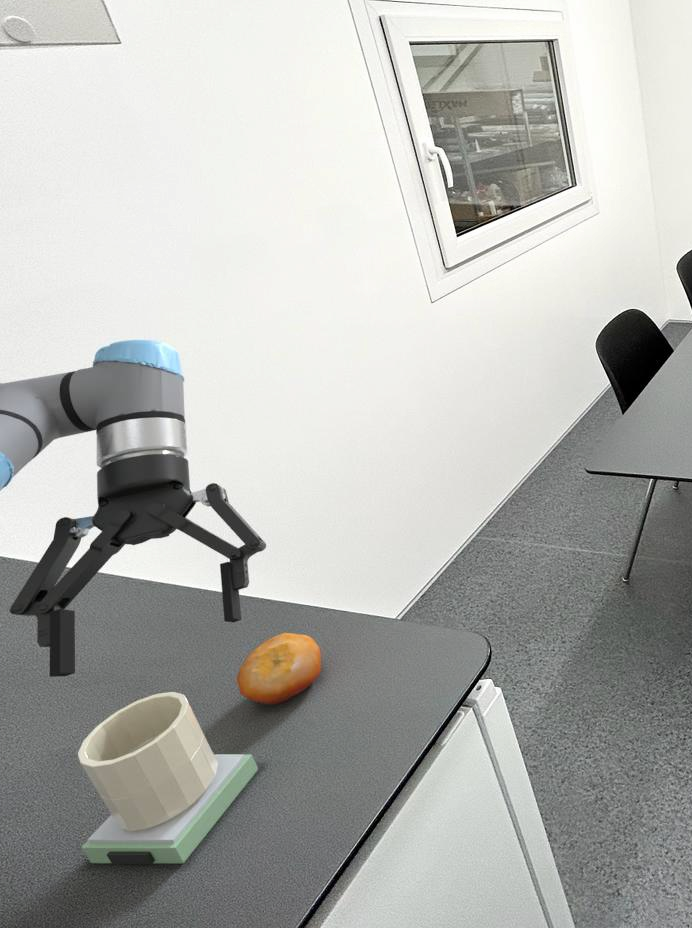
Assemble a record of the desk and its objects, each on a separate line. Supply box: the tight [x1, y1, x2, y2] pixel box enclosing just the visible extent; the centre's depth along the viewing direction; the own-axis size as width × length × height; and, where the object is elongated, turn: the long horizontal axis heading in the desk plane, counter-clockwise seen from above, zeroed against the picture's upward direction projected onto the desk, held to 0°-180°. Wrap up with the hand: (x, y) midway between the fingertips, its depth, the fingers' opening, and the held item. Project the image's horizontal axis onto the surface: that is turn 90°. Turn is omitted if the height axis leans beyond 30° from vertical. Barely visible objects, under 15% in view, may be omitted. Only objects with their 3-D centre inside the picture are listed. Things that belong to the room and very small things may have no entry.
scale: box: [81, 753, 259, 865], centre depth 65 cm, size 9×10×3 cm
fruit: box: [236, 632, 322, 706], centre depth 79 cm, size 8×8×8 cm
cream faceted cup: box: [77, 691, 218, 831], centre depth 63 cm, size 8×8×10 cm
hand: (152, 646), depth 68 cm, fingers open, 13 cm apart
